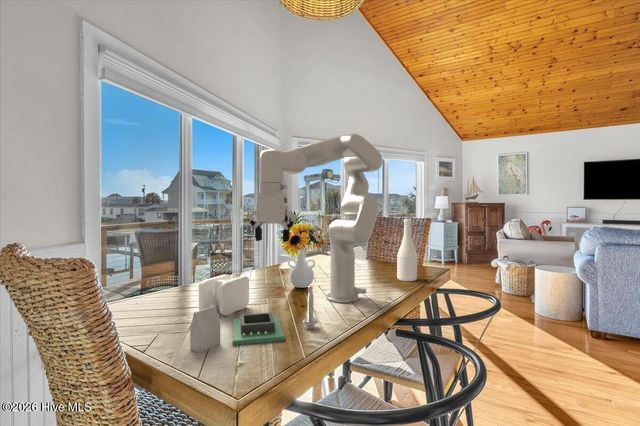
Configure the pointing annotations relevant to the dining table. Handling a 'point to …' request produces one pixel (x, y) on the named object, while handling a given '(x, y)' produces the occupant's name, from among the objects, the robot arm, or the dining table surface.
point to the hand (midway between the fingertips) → (272, 241)
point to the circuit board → (257, 329)
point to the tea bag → (205, 330)
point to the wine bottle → (407, 256)
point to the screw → (310, 311)
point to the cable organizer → (224, 293)
